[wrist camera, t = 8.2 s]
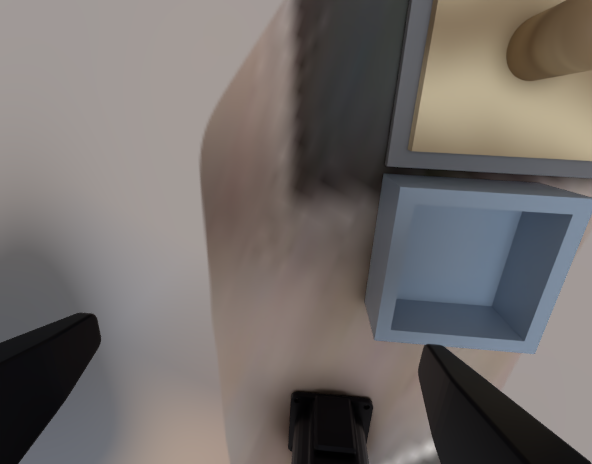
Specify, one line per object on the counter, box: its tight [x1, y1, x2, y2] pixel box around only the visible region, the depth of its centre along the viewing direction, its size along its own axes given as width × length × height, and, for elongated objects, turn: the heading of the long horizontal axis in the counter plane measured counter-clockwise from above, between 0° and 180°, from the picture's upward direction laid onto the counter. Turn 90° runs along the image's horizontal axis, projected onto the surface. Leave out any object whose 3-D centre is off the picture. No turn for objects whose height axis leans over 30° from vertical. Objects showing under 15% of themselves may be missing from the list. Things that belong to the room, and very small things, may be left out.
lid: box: [408, 0, 592, 161], centre depth 13 cm, size 10×10×5 cm
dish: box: [364, 173, 592, 354], centre depth 18 cm, size 9×9×4 cm
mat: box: [385, 0, 592, 178], centre depth 15 cm, size 12×12×1 cm
